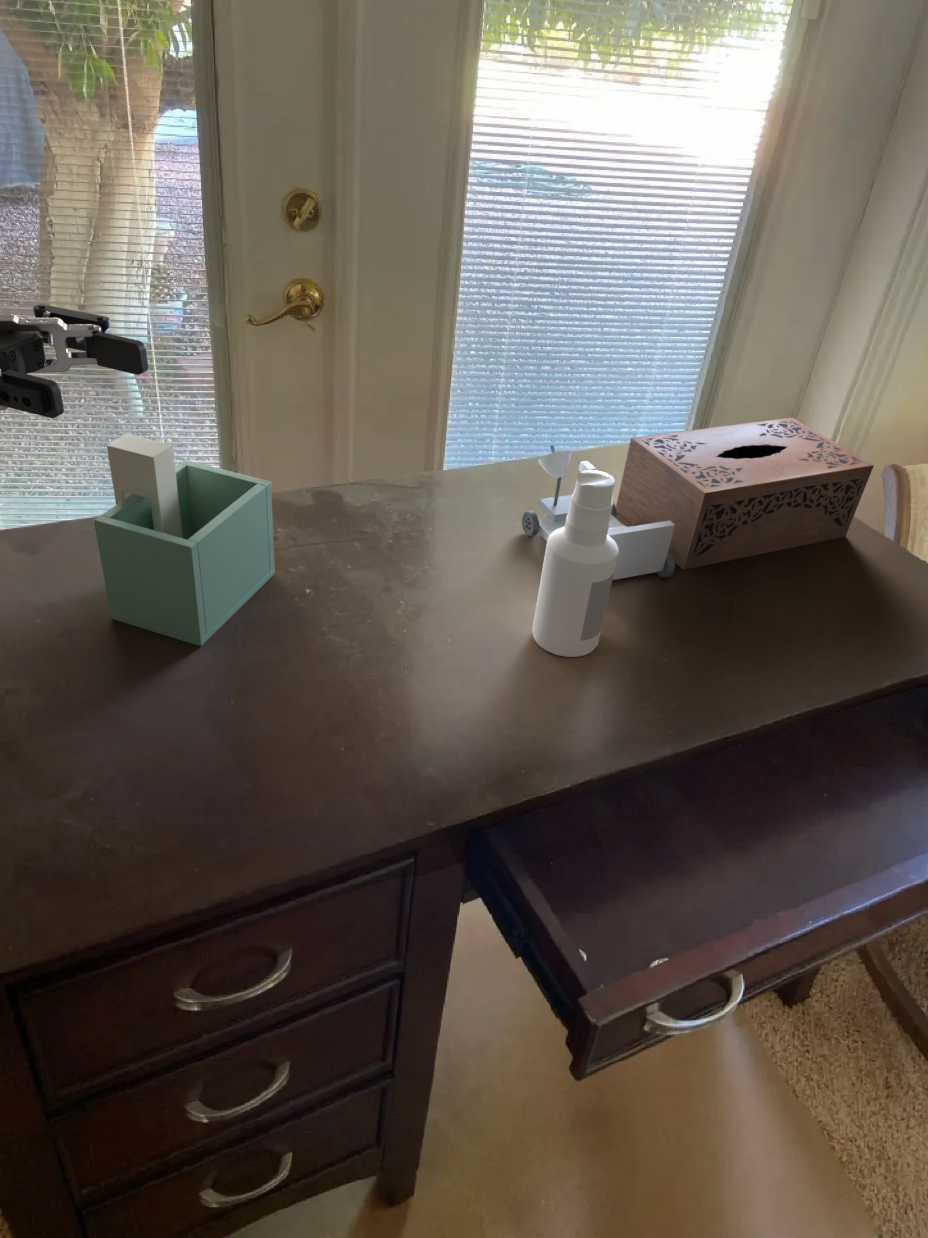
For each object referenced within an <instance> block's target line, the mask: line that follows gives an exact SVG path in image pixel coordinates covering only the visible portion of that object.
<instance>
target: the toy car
mask: <svg viewBox="0 0 928 1238" xmlns="http://www.w3.org/2000/svg"><path fill="white" fill-rule="evenodd" d="M549 448H550V452H551V453H549V454H547V455H544V456H542V457H540V458H539V459H538V460H537V462H538V463H539V465H540V466H541V467H542V469H543V470H544V471H545V472H546V473H547V474H548V475H549V476H550V477H552V478H554V479H556V480H557V481H556V487H555V493H554V496H552V497H545V498H544V497H543V498H539V499H538V505H537V507H538V508H539V509H540V510H541V511H542V512H543V513H544V514H545V515H546V516H545V517H543V516H542V517H539V516H538V514H537V512H536V511H534V510H531V509H530V510H525V511H524V512H523V513H522V517H521V527H522V529H523V532H524V534H525V535H526V536H527V537H533V536H536V535H538V534H539V535H540V537H542V538H543V539H544V540H545V542H547V541H548V538H549V535H550V534H552V533H553V532H554V531H555V530H557V529H560V528H562V527H565V522H566V517H567V515H568V511H569V505H570V500H571V495H572V494H567V495H560V496H559V494H560V489H561V482H562V478H564V476H565V475H566V474H567V472H568V469H569V466H570V462H571V457H572V452H571V451H569V450H563V451H561V450H560V451H556V450H555V446H554V445H553V444H552V445H549ZM577 464H578V470H579V471H580V472H582V471H585V470H597V468H596V467H595V466H594V465H593V464H592V463H591V462H589V461H588V460H582V459H581V460H579V461H578V463H577ZM617 514H618V512H616V504H615V503H614V502H613V506H612V510H611V515H610V520H609V523H610V524H609V529H608V533H607V535H609V536H610V537H611V538H612V539H613V540H614V541H615V542H616V544H617V546H618V549H619V552H618V558H617V562H616V567H615V571H614V575H613V580H612V581H617V580H620V579H621V580H622V579H625V578H631V577H636V576H643V575H648V574H652V573H656V575H657V576H658V577H660V578H661V579H666V578H670V577H671V576H673V574H674V573H675V569H676V563H675V562H674V559H673V556H672V555H671V554H670V553H669V552H668V550H669V546H670V542H671V538H672V535H673V531H674V527H675V524H673V523H672V522H671V521H670V520H669V521H663V522H657V523H650V524H644V525H638V526H633V525H631V526H627V525H624V524H623V523H621V521H620V520H619V519H617Z"/></svg>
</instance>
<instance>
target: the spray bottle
mask: <svg viewBox="0 0 928 1238" xmlns="http://www.w3.org/2000/svg"><path fill="white" fill-rule="evenodd" d="M575 481H576V482H575V487H574V489H573V492H572V494H570V495H571V500H570V505H569V511H568V515H567V517H566V522H565V527H562V528H560V529H557V530H555V531H554V532H553V533H552V534H550V535H549V538H548V541H546V545H545V552H544V557H543V563H542V569H541V575H540V581H539V586H538V593H537V599H536V605H535V611H534V617H533V623H532V628H531V632H532V636H533V639H534V641H535V642H536V644H537V645H538V646H539V647H541V648H542V649H543V650H545V651H546V652H548V653H551V654H553V655H555V656H561V657H565V658H577V657H583V656H586V655H589V654H590V653H592V652H593V651H594V650H595V649H596V648H597V646H598V645H599V641H600V637H601V634H602V633H601V632H602V628H603V625H604V620H605V615H606V610H607V606H608V602H609V598H610V592H611V588H612V584H613V581H614V580H613V575H614V571H615V567H616V562H617V558H618V552H619V549H618V546H617V544H616V542H615V541H614V540H613V539H612V538H611V537H610V536H609V535H607V533H608V529H609V524H610V523H609V520H610V515H611V510H612V506H613V503H614V501H613V494H614V493H613V492H614V488H615V483H616V481H615V478H614V477H613V476H612V475H611V474H609V473H608V472H604V471H601V470H597V469H596V470H585V471H582V472H581V471H580V472H578V474H577V476H576V480H575Z"/></svg>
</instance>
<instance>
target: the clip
mask: <svg viewBox="0 0 928 1238" xmlns="http://www.w3.org/2000/svg"><path fill="white" fill-rule="evenodd" d="M106 451H107V456H108V463H109V469H110V475H111V481H112V488H113V494H114V499H115V506H116V505H117V504H119V503H120V502H121V501H123V500H124V499H126V498H127V497H129V496H130V495H132V494H134V495H138V496H142V497H145V498H149V499H150V503H151V510H152V518H153V525H154V531H158V532H161V533H165V534H168V535H172V536H175V537H179V538H183V535H182V526H181V517H180V508H179V499H178V490H177V481H176V472H175V465H176V464H175V456H174V446H173V445H172V444H169V443H165V442H161V441H158V440H154V439H149V438H146V437H142V436H138V435H135V434H130V433H126V434H124V435H122V436H120V437H118V438H117V439H115V440H113V441H111V442H110V443H109V444H107V445H106Z"/></svg>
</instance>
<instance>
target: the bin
mask: <svg viewBox="0 0 928 1238" xmlns="http://www.w3.org/2000/svg"><path fill="white" fill-rule="evenodd" d="M175 472H176V481H177V490H178V499H179V508H180V517H181V526H182V535H183V538H179V537H175V536H172V535H168V534H165V533H161V532H158V531H154V525H153V518H152V510H151V503H150V499H149V498H145V497H142V496H138V495H134V494H132V495H130V496H129V497H127V498H126V499H124V500H123V501H121V502H120V503H119V504H117V505H116V504H115V505H114V506H112V507H111V508H110V509H108V510H107V511H105V512H103V513H102V514H101V515H99V516H98V517H96V518H95V519H93V523H94V529H95V535H96V541H97V545H98V551H99V556H100V563H101V568H102V574H103V579H104V587H105V591H106V597H107V602H108V607H109V608H108V609H109V612H110V613H109V614H110V618H111V620H113V621H118V622H120V623H123V624H127V625H131V626H133V627H137V628H140V629H143V630H146V631H150V632H153V633H156V634H160V635H162V636H165V637H169V638H171V639H176V640H179V641H182V642H184V643H187V644H192V645H194V646H199V647H202V646H203V645H205V643H207V641H209V640H210V639H211V638H212V637H213V635H215V634H216V633H217V632H218V631H219V630H220V629H221V628H222V627H223V626H224V625H225V624H226V623H227V622H228V621H229V620H230V619H231V618H232V617H233V616H234V615H235V614H236V613H237V612H238V611H239V610H240V609H241V608H242V607H243V606H244V605H246V603H247V602H248V601H249V600H250V599H251V598H252V597H253V596H254V595H255V594H256V593H257V592H258V591H259V590H260V589H261V588H262V587H263V586H264V585H265V584H266V583H267V582H268V581H269V580H270V579H271V578H272V577H273V576H274V575H275V574H276V572H275V571H276V569H275V567H276V565H275V546H274V542H275V541H274V521H273V519H274V518H273V499H272V495H273V494H272V481H269V480H266V479H261V478H258V477H254V476H249V475H247V474H242V473H239V472H235V471H231V470H227V469H224V468H219V467H215V466H211V465H208V464H203V463H200V462H196V461H192V460H188V459H184V458H183V459H182V460H180V461H179V462H178V463H176V464H175Z"/></svg>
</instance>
